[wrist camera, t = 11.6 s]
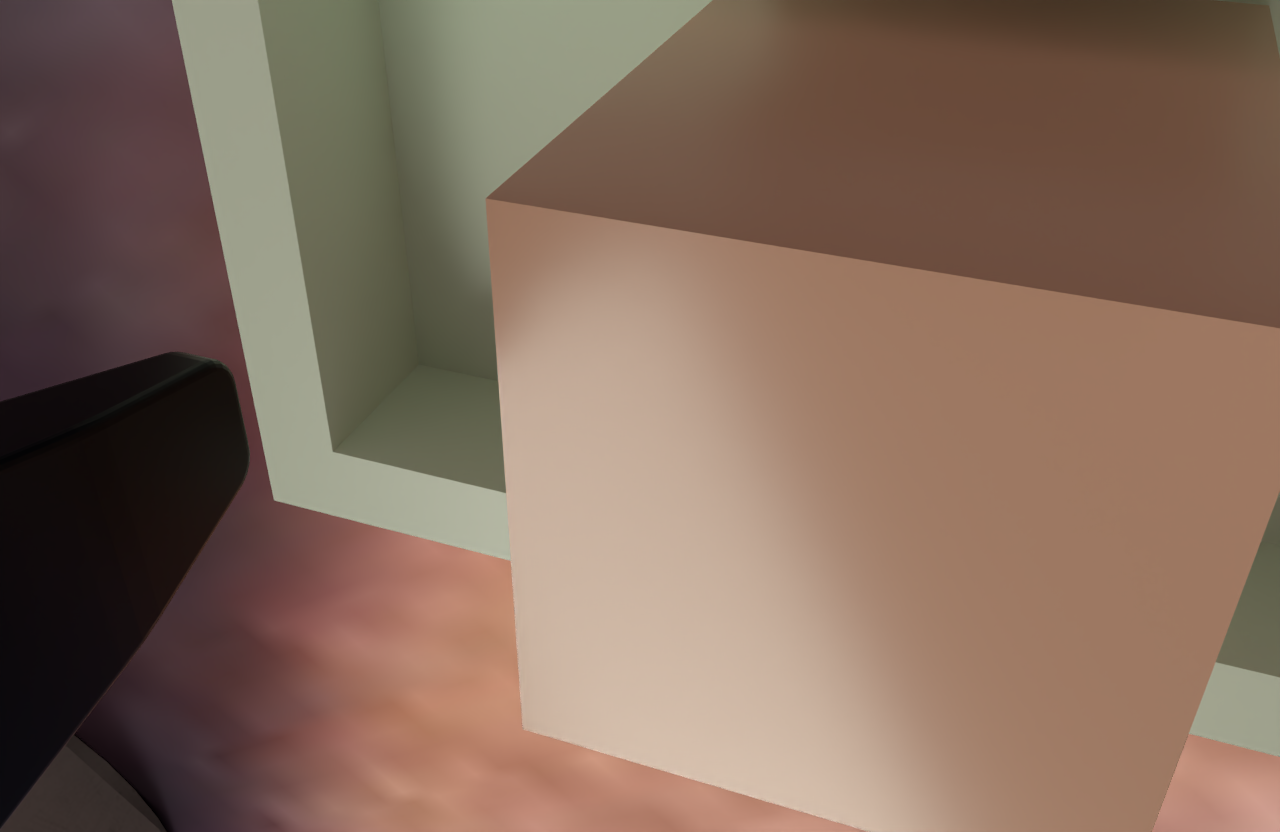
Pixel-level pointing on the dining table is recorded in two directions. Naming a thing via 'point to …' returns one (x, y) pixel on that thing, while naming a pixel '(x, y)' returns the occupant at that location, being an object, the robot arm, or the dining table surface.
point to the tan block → (897, 402)
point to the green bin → (448, 255)
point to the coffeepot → (82, 798)
